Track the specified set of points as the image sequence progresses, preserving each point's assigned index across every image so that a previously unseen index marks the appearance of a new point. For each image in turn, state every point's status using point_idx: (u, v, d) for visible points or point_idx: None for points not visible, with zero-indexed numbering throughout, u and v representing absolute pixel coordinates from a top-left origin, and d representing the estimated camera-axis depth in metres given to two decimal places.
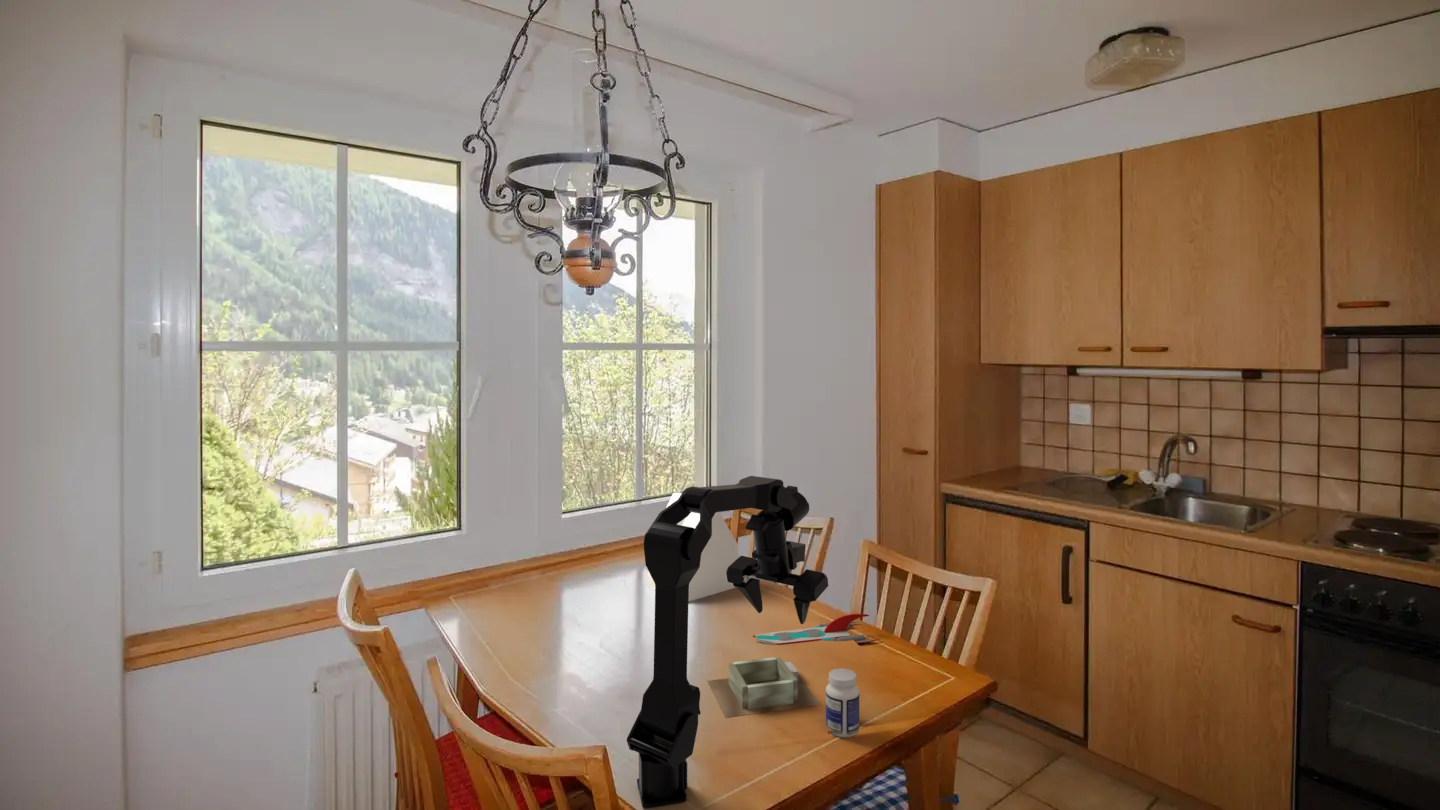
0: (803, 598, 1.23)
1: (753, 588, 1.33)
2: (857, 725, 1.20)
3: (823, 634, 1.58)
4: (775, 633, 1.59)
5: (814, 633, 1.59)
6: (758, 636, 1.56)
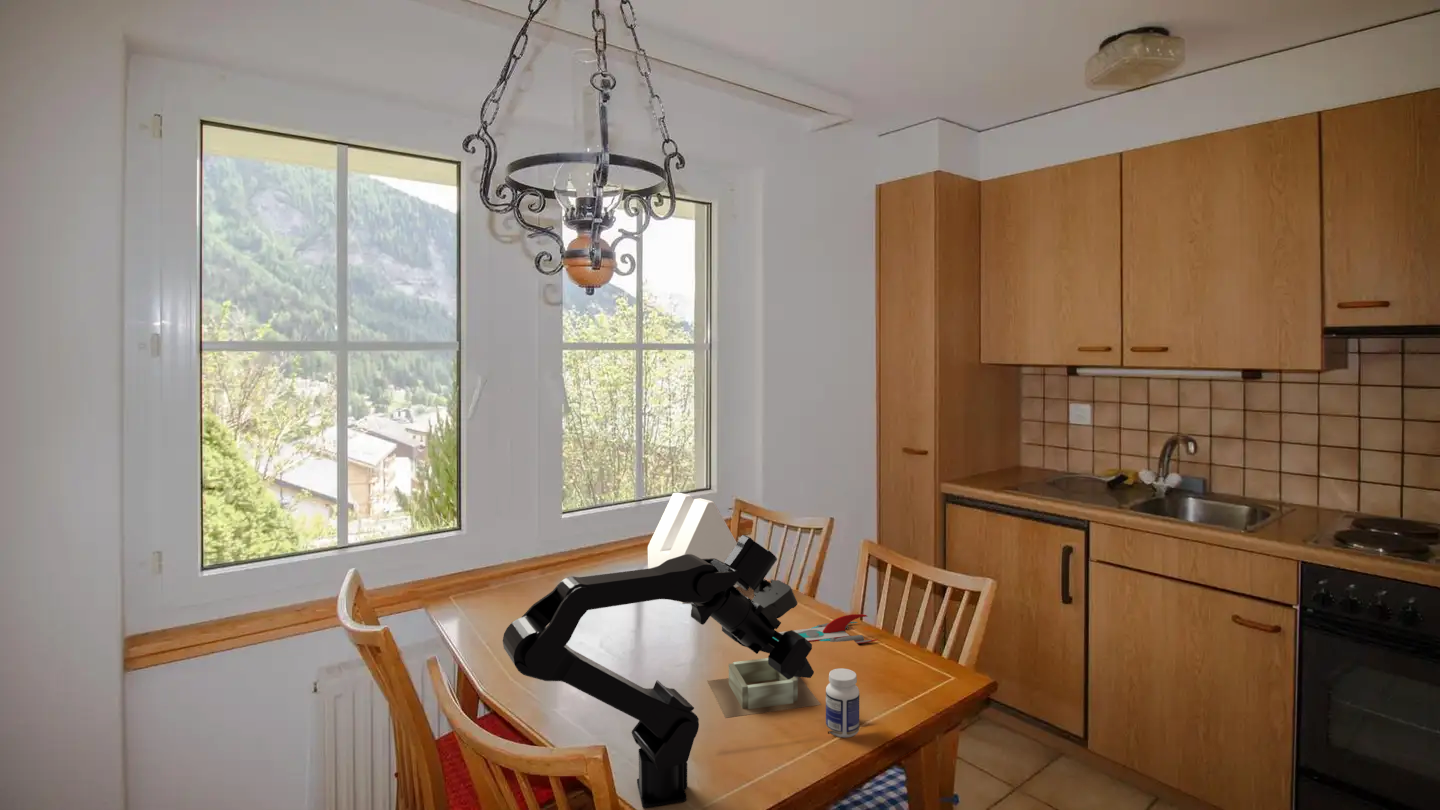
0: (781, 674, 1.05)
1: None
2: (857, 725, 1.20)
3: (822, 635, 1.58)
4: None
5: (812, 633, 1.59)
6: None
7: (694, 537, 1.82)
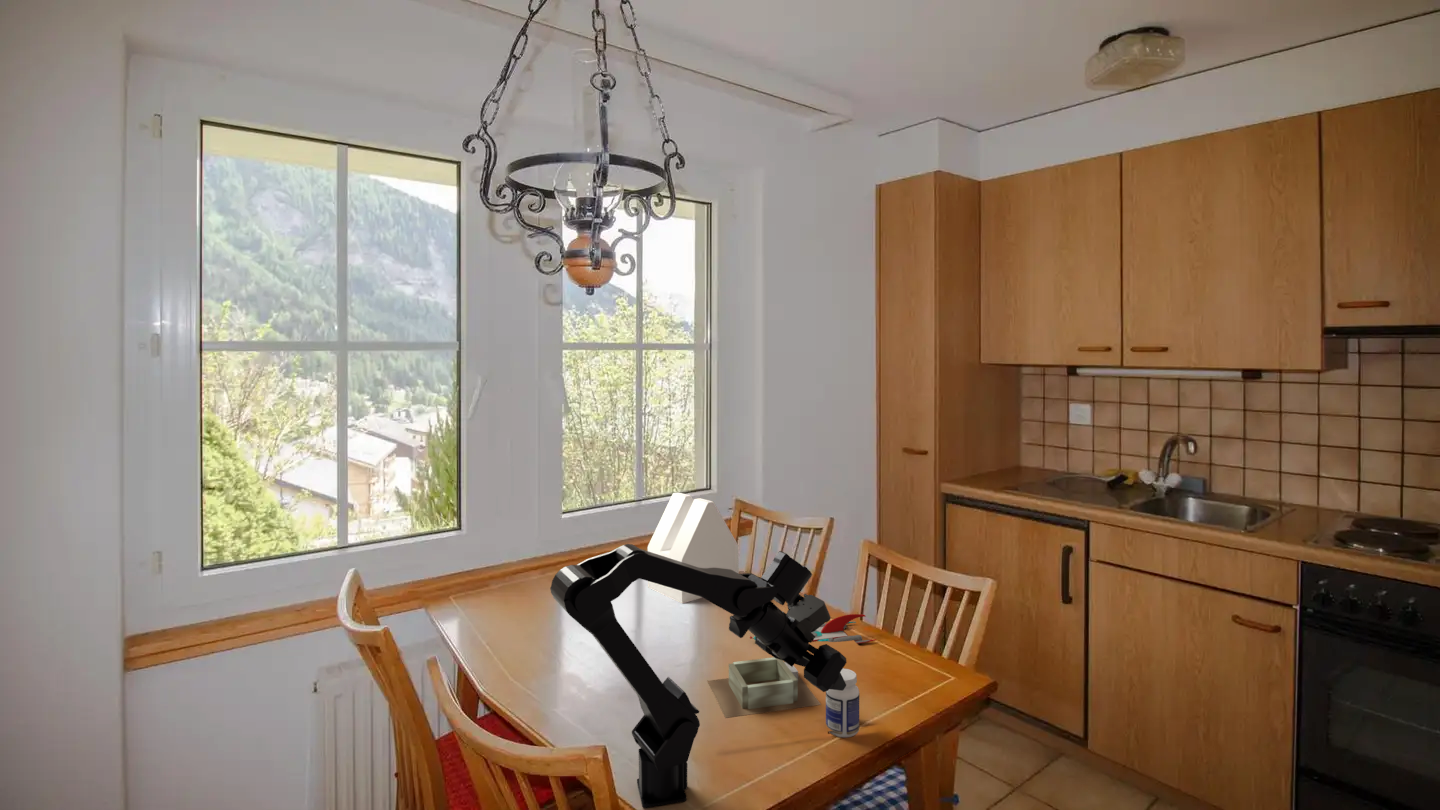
0: None
1: None
2: (857, 725, 1.20)
3: (820, 635, 1.58)
4: None
5: None
6: None
7: (694, 537, 1.82)
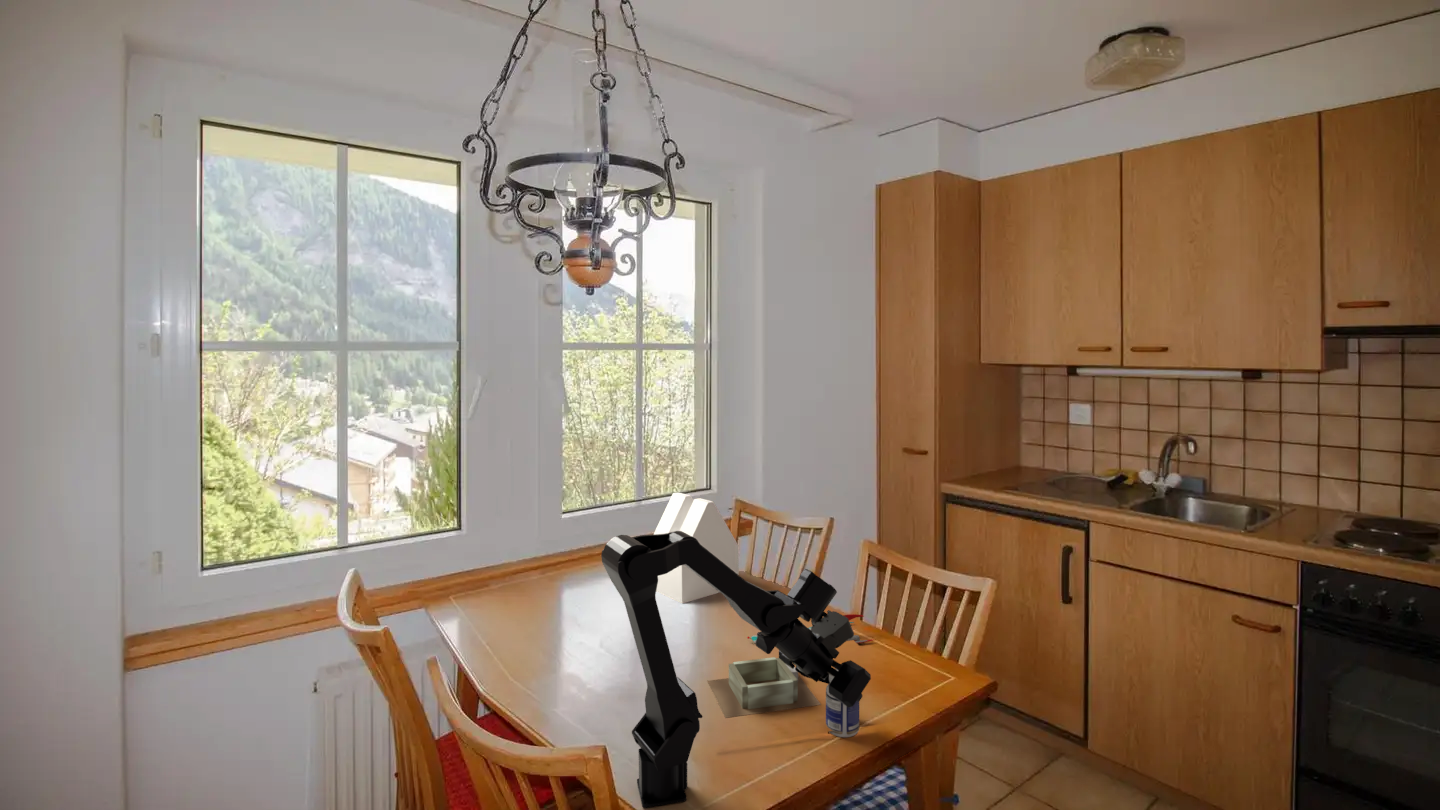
0: (841, 702, 1.12)
1: None
2: (857, 725, 1.20)
3: None
4: None
5: None
6: (753, 637, 1.55)
7: (694, 537, 1.82)
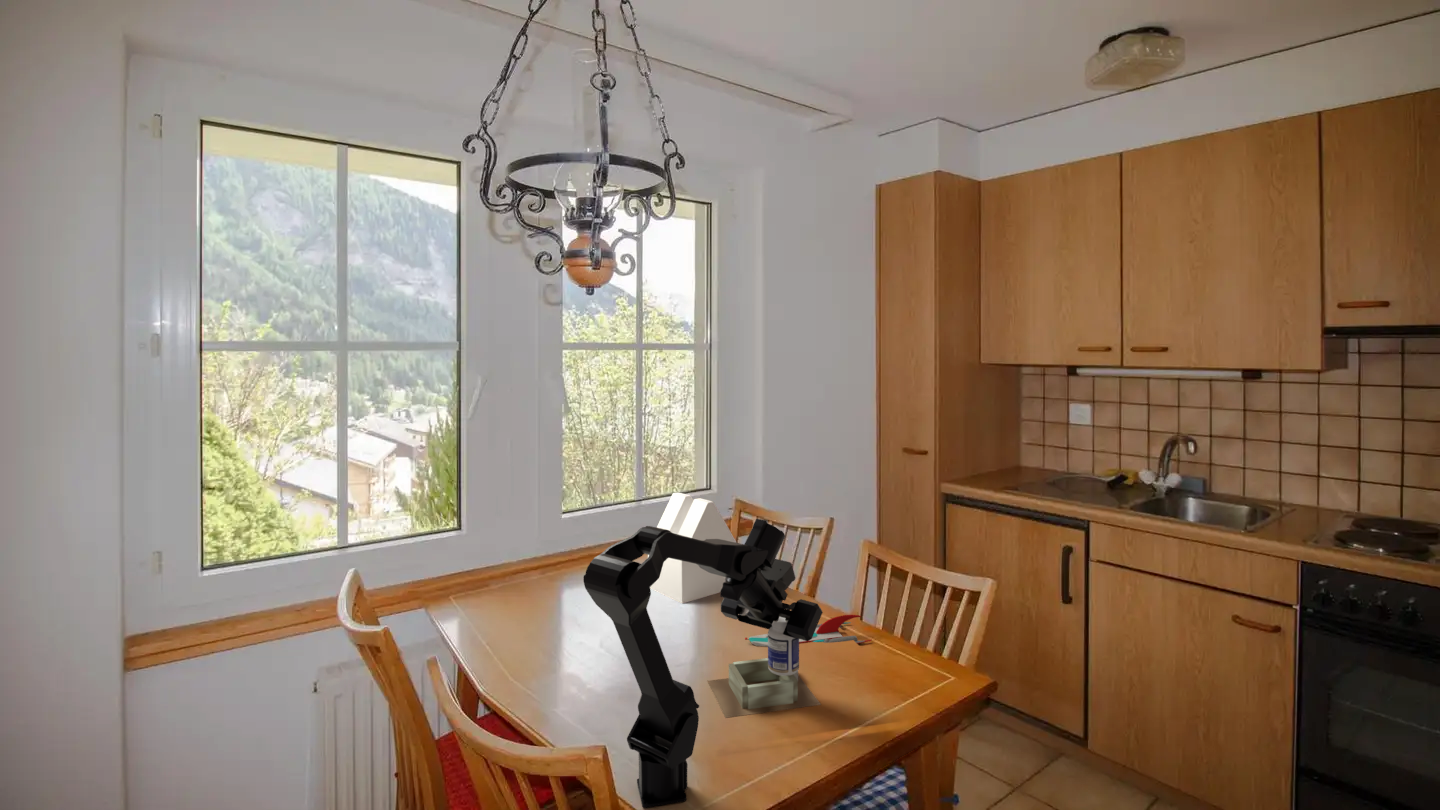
0: (799, 638, 1.20)
1: None
2: None
3: (815, 635, 1.58)
4: (767, 635, 1.58)
5: None
6: (750, 638, 1.55)
7: (694, 537, 1.82)
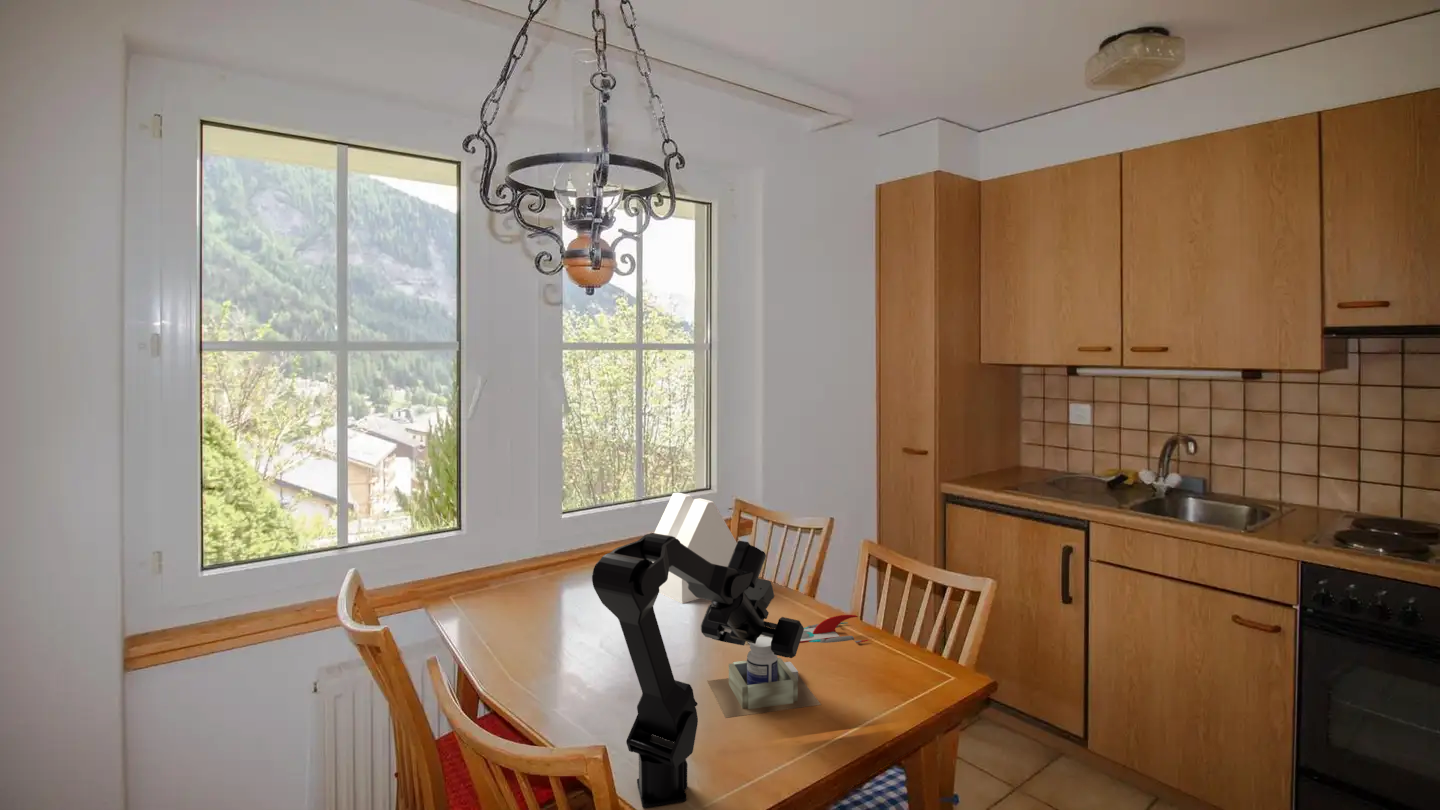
0: (783, 655, 1.23)
1: None
2: None
3: (812, 635, 1.58)
4: None
5: (802, 634, 1.58)
6: None
7: (694, 537, 1.82)
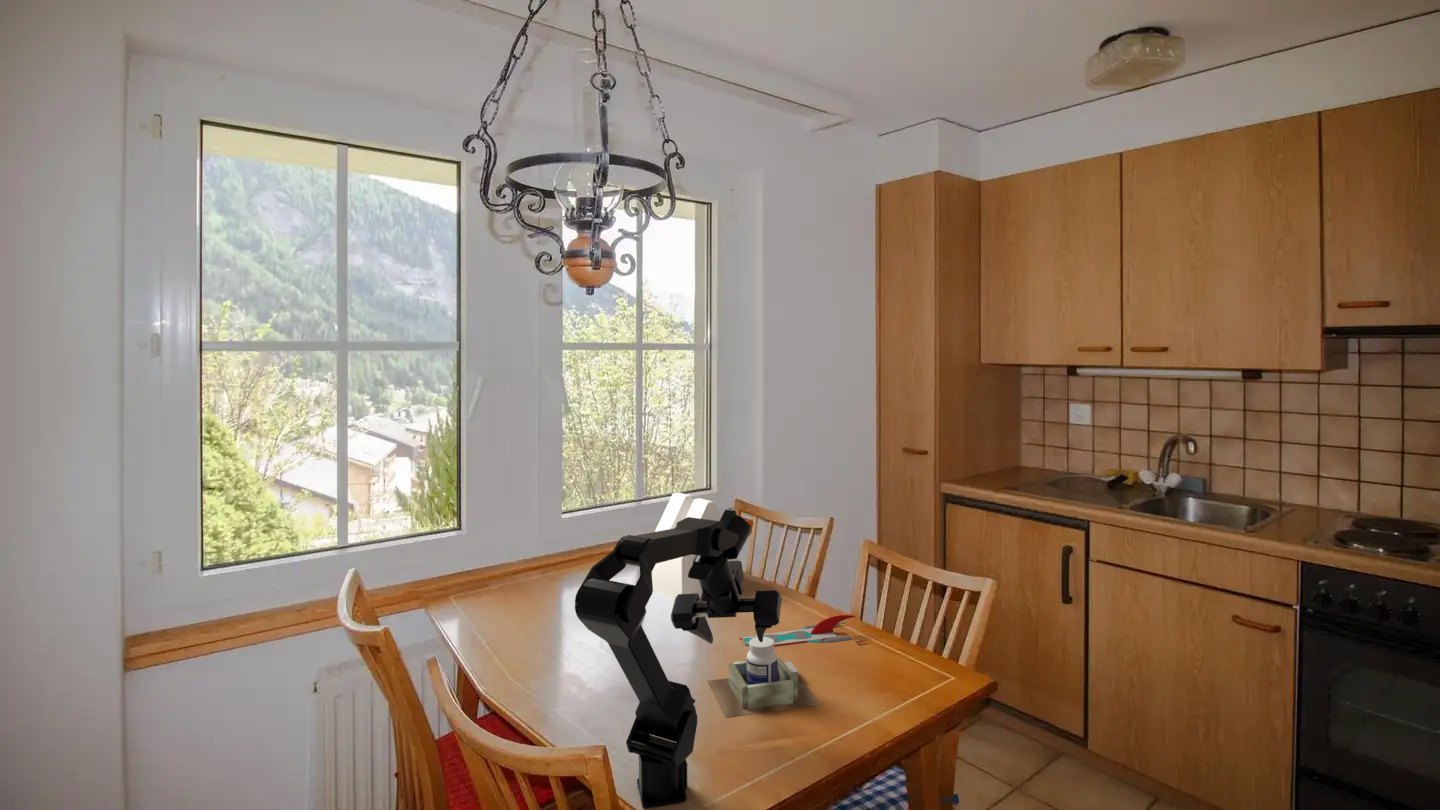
0: (766, 624, 1.18)
1: (702, 624, 1.24)
2: None
3: (810, 636, 1.57)
4: None
5: (800, 634, 1.58)
6: (745, 639, 1.55)
7: None
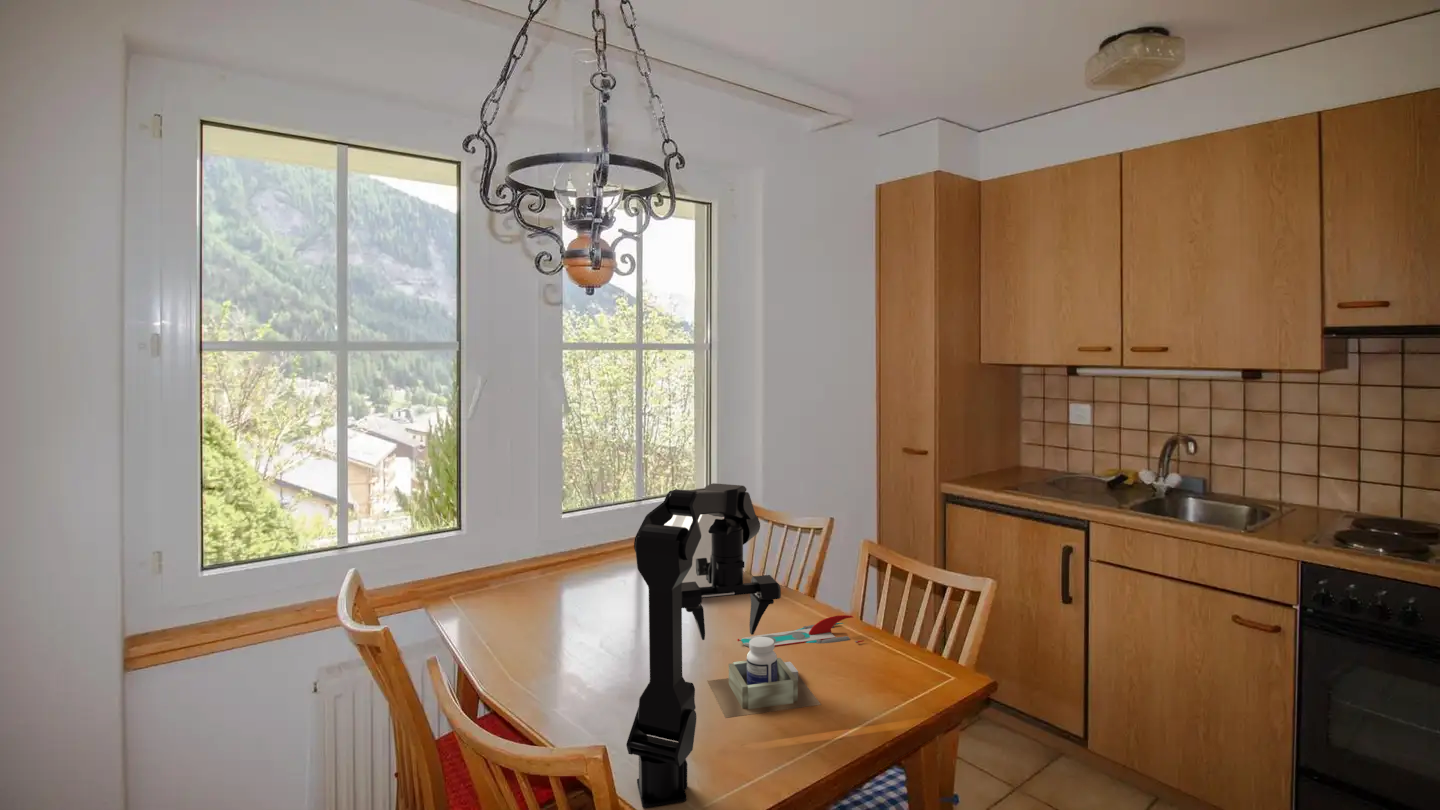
0: (771, 597, 1.27)
1: None
2: None
3: (808, 636, 1.57)
4: (759, 636, 1.57)
5: (798, 635, 1.58)
6: (743, 640, 1.54)
7: None
